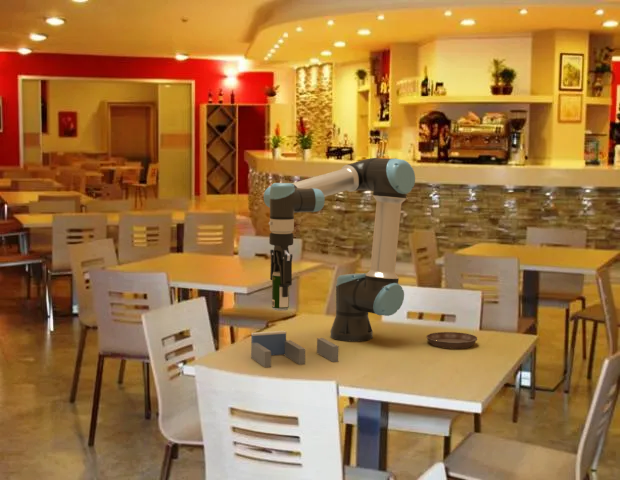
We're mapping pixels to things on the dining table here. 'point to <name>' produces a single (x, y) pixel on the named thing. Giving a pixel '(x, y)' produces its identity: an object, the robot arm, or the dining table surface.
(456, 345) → the plant saucer
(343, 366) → the dining table surface
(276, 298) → the beer can
